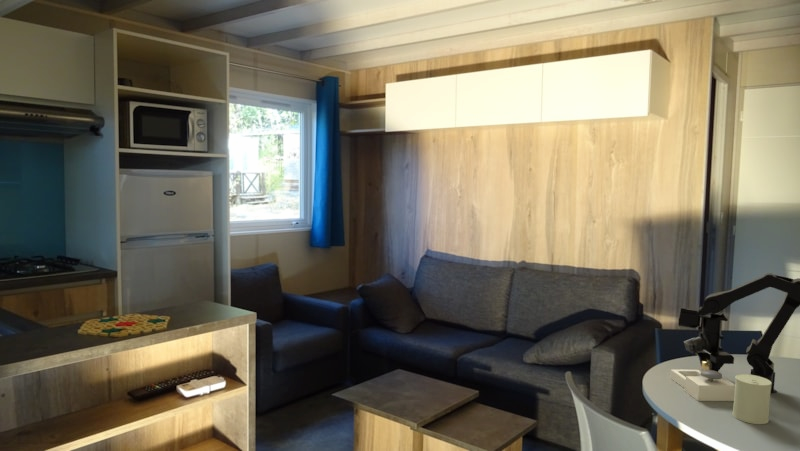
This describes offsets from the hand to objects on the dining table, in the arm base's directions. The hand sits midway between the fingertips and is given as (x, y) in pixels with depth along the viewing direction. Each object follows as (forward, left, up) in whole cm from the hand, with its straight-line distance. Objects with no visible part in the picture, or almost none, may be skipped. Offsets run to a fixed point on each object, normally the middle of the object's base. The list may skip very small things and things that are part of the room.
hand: (708, 375), depth 203 cm
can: (+5, +31, -2) cm, 31 cm away
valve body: (+8, +9, -1) cm, 12 cm away
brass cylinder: (0, 0, -1) cm, 1 cm away
